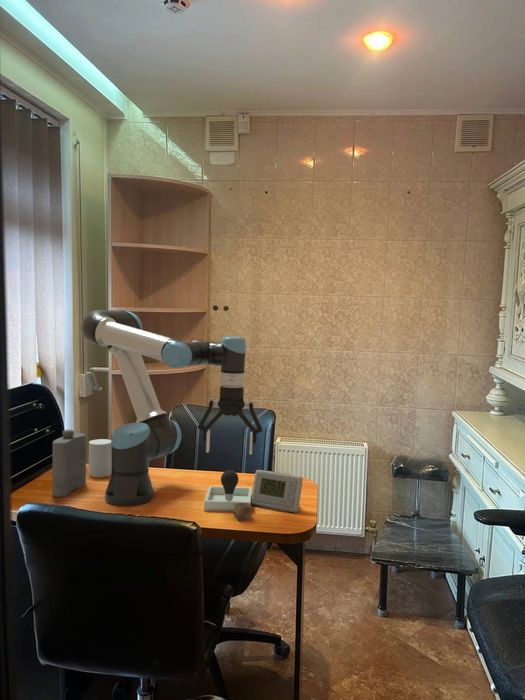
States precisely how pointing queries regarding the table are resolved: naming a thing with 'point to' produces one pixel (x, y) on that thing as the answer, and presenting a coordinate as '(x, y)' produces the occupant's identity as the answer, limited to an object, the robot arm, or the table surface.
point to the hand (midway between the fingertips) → (229, 452)
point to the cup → (99, 457)
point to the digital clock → (276, 491)
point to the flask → (68, 463)
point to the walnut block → (243, 512)
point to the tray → (219, 503)
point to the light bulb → (229, 483)
